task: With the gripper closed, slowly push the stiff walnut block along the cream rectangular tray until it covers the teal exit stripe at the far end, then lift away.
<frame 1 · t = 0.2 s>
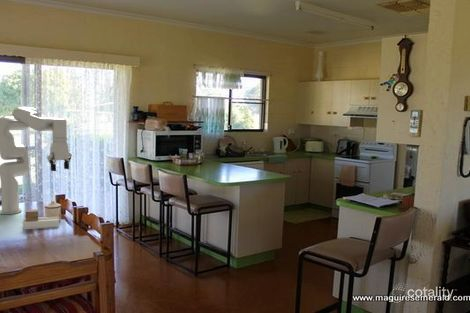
hand: (60, 169, 242), 31 cm above the table, tool pointing down, fingers open, 9 cm apart
teacup with lid: (52, 220, 251), on the table
cream rectangular tray: (41, 226, 237), on the table
walnut block: (32, 217, 234), point 5 cm above the table, slide at 0.0 cm
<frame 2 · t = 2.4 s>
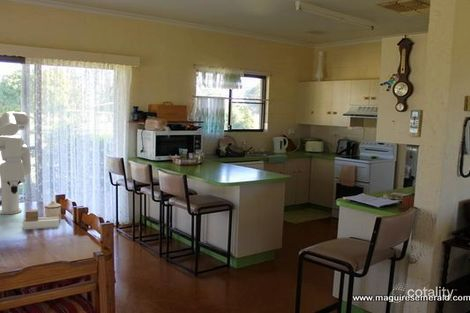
hand: (14, 193, 229), 19 cm above the table, tool pointing down, fingers closed
nothing on the table moved.
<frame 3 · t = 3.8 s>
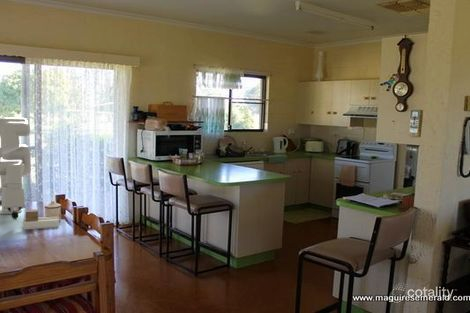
hand: (15, 219, 231), 5 cm above the table, tool pointing down, fingers closed
nothing on the table moved.
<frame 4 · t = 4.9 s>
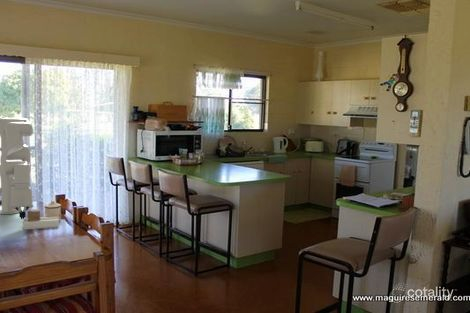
hand: (22, 218, 232), 5 cm above the table, tool pointing down, fingers closed
walnut block: (33, 217, 235), point 5 cm above the table, slide at 0.9 cm, touching gripper
everything else where it was.
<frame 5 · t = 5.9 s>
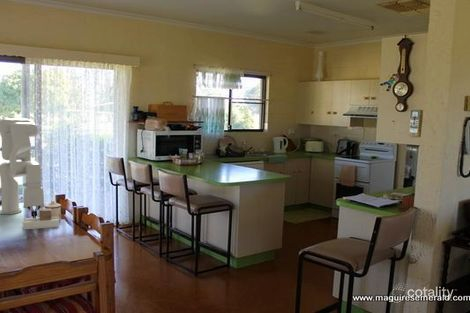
hand: (34, 217, 235), 5 cm above the table, tool pointing down, fingers closed
walnut block: (45, 216, 237), point 5 cm above the table, slide at 6.7 cm, touching gripper
everything else where it was.
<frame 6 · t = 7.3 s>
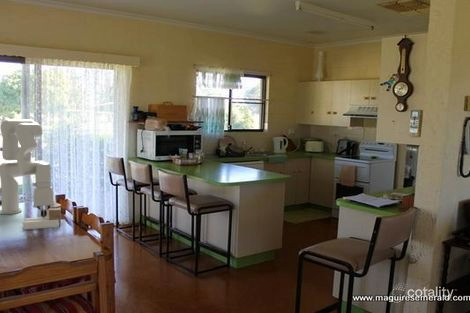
hand: (43, 217, 237), 5 cm above the table, tool pointing down, fingers closed
walnut block: (54, 216, 239), point 5 cm above the table, slide at 11.6 cm, touching gripper
everything else where it was.
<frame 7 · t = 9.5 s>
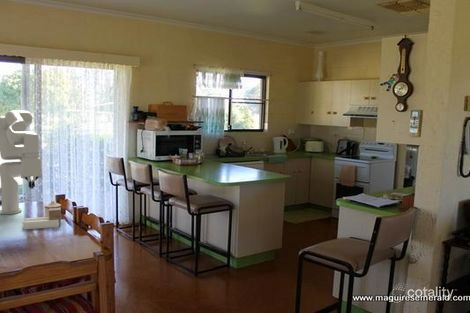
hand: (31, 188, 234), 22 cm above the table, tool pointing down, fingers closed
walnut block: (54, 216, 239), point 5 cm above the table, slide at 11.6 cm
everything else where it was.
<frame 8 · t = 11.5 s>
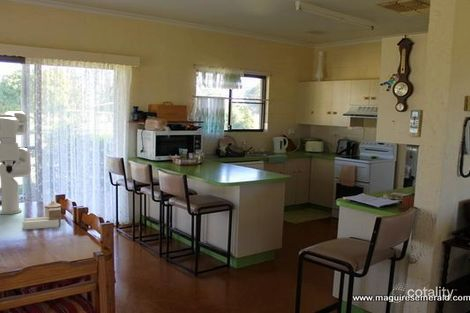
hand: (9, 172, 238), 29 cm above the table, tool pointing down, fingers closed
nothing on the table moved.
at the end: walnut block slide at 11.6 cm; teacup with lid moved 0.2 cm from its start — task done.
